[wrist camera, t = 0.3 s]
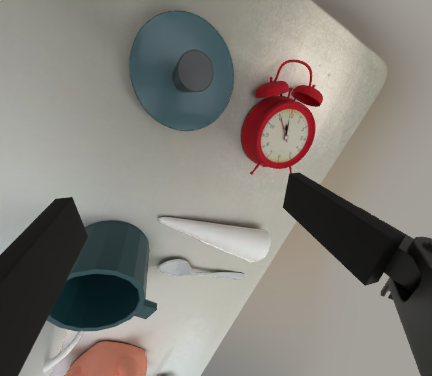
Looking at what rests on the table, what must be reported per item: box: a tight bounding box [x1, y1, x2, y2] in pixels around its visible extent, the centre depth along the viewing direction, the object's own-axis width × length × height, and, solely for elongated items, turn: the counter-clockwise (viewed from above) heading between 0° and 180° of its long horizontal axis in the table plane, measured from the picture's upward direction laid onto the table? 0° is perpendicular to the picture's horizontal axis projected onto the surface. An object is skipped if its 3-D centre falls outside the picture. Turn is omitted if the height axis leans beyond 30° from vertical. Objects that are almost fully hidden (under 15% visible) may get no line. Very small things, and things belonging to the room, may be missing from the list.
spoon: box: [158, 259, 245, 280], centre depth 39 cm, size 4×21×2 cm, turn 60°
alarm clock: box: [242, 60, 323, 175], centre depth 27 cm, size 10×6×15 cm
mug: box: [18, 320, 83, 376], centre depth 28 cm, size 12×8×12 cm
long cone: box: [158, 217, 271, 263], centre depth 33 cm, size 6×6×19 cm
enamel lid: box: [130, 11, 234, 131], centre depth 19 cm, size 12×12×9 cm
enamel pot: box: [47, 221, 157, 331], centre depth 27 cm, size 11×17×10 cm
